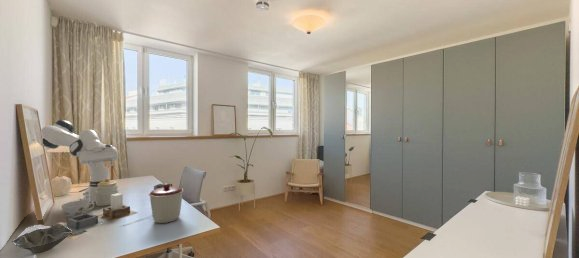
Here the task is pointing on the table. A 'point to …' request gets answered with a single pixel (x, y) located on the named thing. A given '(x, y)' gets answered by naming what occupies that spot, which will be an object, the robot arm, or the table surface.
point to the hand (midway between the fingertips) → (103, 166)
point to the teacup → (76, 208)
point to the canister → (166, 203)
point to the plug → (116, 201)
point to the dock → (83, 223)
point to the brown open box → (116, 213)
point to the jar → (105, 192)
